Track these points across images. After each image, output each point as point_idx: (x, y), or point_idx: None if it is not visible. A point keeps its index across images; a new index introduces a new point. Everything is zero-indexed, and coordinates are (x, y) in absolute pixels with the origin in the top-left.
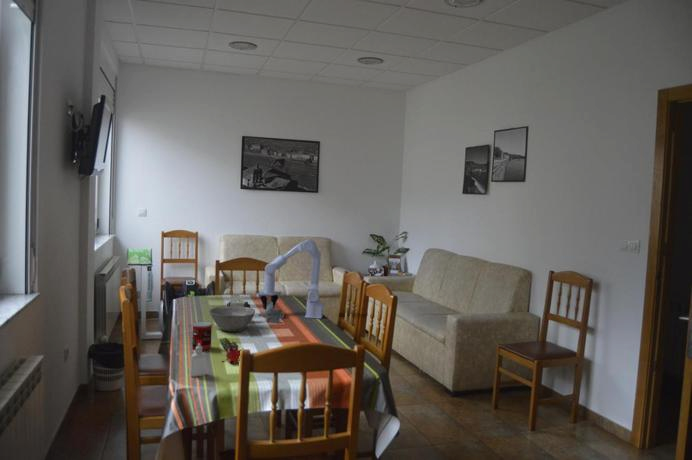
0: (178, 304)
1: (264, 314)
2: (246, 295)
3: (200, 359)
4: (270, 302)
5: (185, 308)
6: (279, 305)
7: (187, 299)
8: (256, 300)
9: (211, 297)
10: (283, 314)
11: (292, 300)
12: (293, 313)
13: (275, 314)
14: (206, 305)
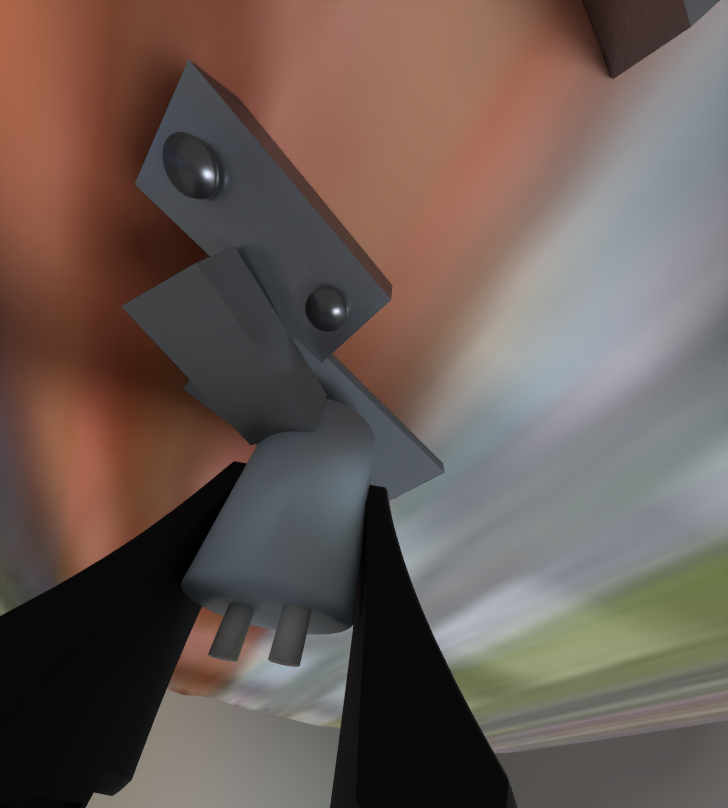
0: (581, 742)
1: (375, 451)
2: (234, 700)
3: None
4: (269, 574)
5: (636, 721)
6: None
7: None
8: (222, 665)
9: None
10: (152, 151)
11: None
12: (10, 361)
13: (323, 236)
14: (499, 707)
